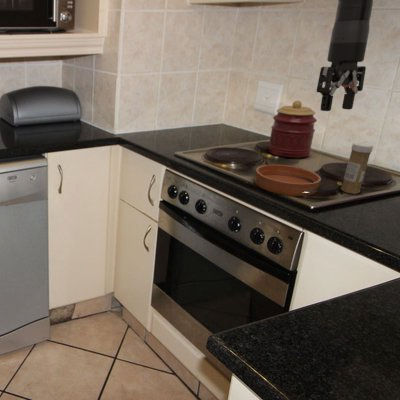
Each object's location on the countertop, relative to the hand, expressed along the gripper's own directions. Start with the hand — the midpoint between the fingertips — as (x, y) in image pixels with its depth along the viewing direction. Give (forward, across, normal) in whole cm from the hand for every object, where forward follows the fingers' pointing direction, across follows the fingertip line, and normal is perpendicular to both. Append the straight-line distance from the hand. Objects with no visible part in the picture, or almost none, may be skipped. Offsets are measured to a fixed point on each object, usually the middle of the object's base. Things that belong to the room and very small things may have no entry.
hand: (336, 110), depth 118 cm
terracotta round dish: (+22, 0, +10) cm, 24 cm away
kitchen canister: (+19, +27, +31) cm, 45 cm away
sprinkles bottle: (+23, +12, 0) cm, 26 cm away
